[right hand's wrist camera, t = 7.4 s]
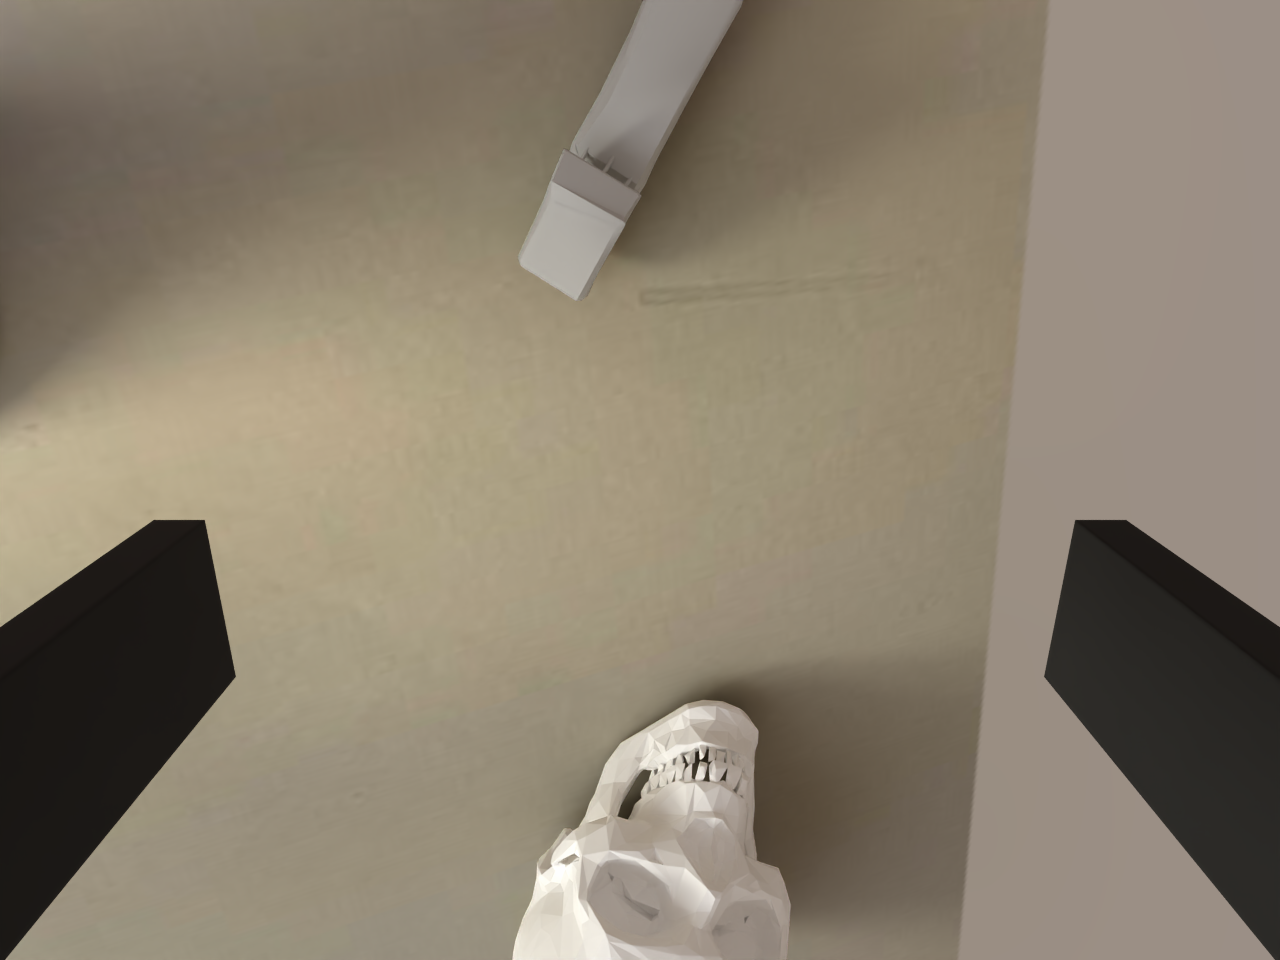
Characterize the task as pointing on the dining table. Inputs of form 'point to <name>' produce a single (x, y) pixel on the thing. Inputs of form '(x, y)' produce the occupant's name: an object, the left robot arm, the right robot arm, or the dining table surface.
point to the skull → (664, 856)
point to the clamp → (622, 139)
